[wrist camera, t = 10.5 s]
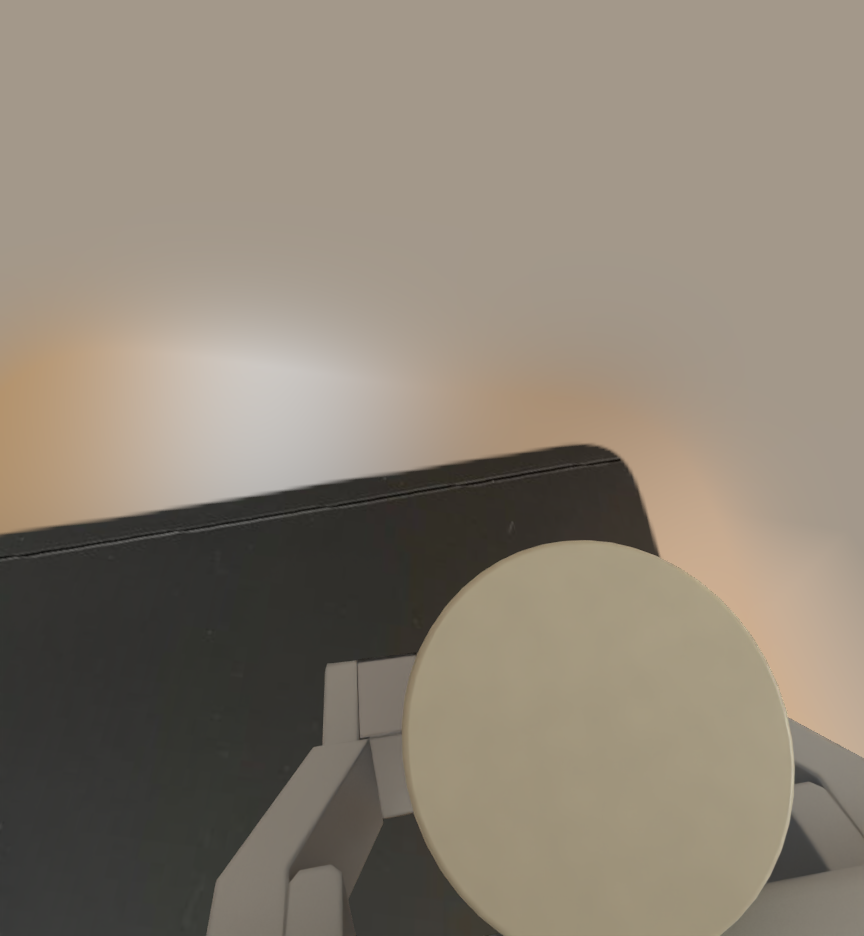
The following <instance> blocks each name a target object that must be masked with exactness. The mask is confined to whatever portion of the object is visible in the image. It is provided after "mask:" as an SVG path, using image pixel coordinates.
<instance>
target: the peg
mask: <svg viewBox="0 0 864 936" xmlns="http://www.w3.org/2000/svg"><path fill="white" fill-rule="evenodd" d="M402 755H403V764H404V771H405V778H406V785H407V790H408V793H409V797H410V801H411V804H412V808H413V812H414V816H415V818H416V820H417V823H418V825H419V828H420V830H421V833H422V835H423V838H424V840H425V843H426V845H427V847H428V848H429V850H430V852H431V854H432V856H433V857H434V859H435V861H436V863H437V865H438V866H439V868H440V870H441V871H442V873H443V874H444V875H445V877H446V878H447V880H448V881H449V882H450V884H451V885H452V886H453V888H454V889H455V890H456V892H457V893H458V895H459V896H460V897H461V898H462V899H463V900H464V901H465V902H466V903H467V904H468V905H469V906H470V907H471V908H472V909H473V910H474V911H475V912H476V913H477V915H478V916H479V917H481V918H482V919H483V920H484V921H486V922H487V923H488V924H489V925H491V926H492V927H493V928H494V929H496V930H497V931H498V932H499V933H501V934H502V935H503V936H720V935H721V934H723V933H724V932H725V931H726V930H727V929H728V928H729V927H731V926H732V925H733V924H734V923H735V922H736V921H737V920H739V918H740V917H741V916H742V915H743V914H744V912H745V911H746V910H747V909H748V908H749V907H750V905H751V904H752V903H753V902H754V901H755V899H756V898H757V896H758V895H759V893H760V892H761V890H762V888H763V887H764V885H765V884H766V882H767V880H768V879H769V877H770V875H771V873H772V871H773V869H774V867H775V864H776V862H777V860H778V857H779V855H780V853H781V851H782V848H783V844H784V841H785V837H786V834H787V830H788V827H789V823H790V817H791V811H792V804H793V798H794V776H795V764H794V753H793V742H792V735H791V730H790V726H789V721H788V716H787V711H786V708H785V705H784V702H783V699H782V696H781V693H780V690H779V687H778V685H777V682H776V680H775V678H774V676H773V674H772V671H771V669H770V667H769V665H768V663H767V660H766V659H765V657H764V656H763V654H762V652H761V650H760V649H759V647H758V645H757V644H756V642H755V640H754V639H753V637H752V636H751V634H750V633H749V632H748V630H747V629H746V628H745V626H744V625H743V624H742V622H741V621H740V620H739V618H738V617H737V616H736V615H735V614H734V613H733V612H732V611H731V610H730V609H729V608H728V607H727V605H726V604H725V603H723V601H722V600H721V599H720V598H719V597H718V596H716V595H715V594H714V593H713V592H712V591H710V590H709V589H708V588H707V587H706V586H704V585H703V584H702V583H701V582H700V581H698V580H697V579H695V578H694V577H692V576H691V575H689V574H688V573H686V572H685V571H683V570H682V569H680V568H679V567H677V566H675V565H673V564H671V563H669V562H667V561H665V560H663V559H661V558H659V557H657V556H655V555H652V554H650V553H647V552H644V551H641V550H639V549H636V548H633V547H628V546H624V545H620V544H615V543H611V542H601V541H591V540H578V541H561V542H555V543H549V544H543V545H539V546H536V547H533V548H530V549H526V550H523V551H520V552H518V553H516V554H513V555H511V556H509V557H507V558H505V559H503V560H500V561H499V562H497V563H495V564H494V565H492V566H491V567H489V568H488V569H486V570H484V571H483V572H481V573H480V574H479V575H477V576H476V577H475V578H474V579H473V580H471V581H470V582H469V583H468V584H467V585H466V586H464V587H463V588H462V589H461V590H460V591H459V592H458V593H457V594H456V596H455V597H454V598H453V599H452V600H451V601H450V602H449V603H448V604H447V606H446V607H445V608H444V609H443V611H442V612H441V614H440V615H439V617H438V618H437V620H436V621H435V623H434V624H433V626H432V627H431V629H430V630H429V632H428V634H427V636H426V638H425V640H424V642H423V643H422V645H421V647H420V649H419V651H418V653H417V656H416V659H415V661H414V664H413V667H412V670H411V673H410V675H409V680H408V684H407V689H406V693H405V698H404V707H403V718H402Z"/></svg>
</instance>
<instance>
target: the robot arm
mask: <svg viewBox="0 0 864 936" xmlns="http://www.w3.org/2000/svg"><path fill="white" fill-rule="evenodd" d="M416 656H417V654H416V653H408V654H400V655H391V656H383V657H375V658H367V659H358V661H348V662H339V663H330V664H327V667H326V670H325V689H324V718H323V746H318V747H313V748H312V750H311V751H310V752H309V754H308V755H307V757H306V758H305V759H304V761H303V762H302V763H301V765H300V766H299V768H298V769H297V770H296V772H295V773H294V774H293V776H292V777H291V779H290V780H289V781H288V783H287V784H286V786H285V787H284V788H283V790H282V791H281V792H280V794H279V795H278V797H277V798H276V799H275V801H274V802H273V803H272V805H271V806H270V808H269V809H268V810H267V812H266V813H265V814H264V816H263V817H262V819H261V820H260V821H259V823H258V824H257V825H256V827H255V828H254V830H253V831H252V832H251V834H250V835H249V836H248V838H247V839H246V841H245V842H244V843H243V845H242V846H241V847H240V849H239V850H238V852H237V853H236V854H235V856H234V857H233V858H232V860H231V861H230V863H229V864H228V865H227V867H226V868H225V869H224V871H223V872H222V874H221V875H220V876H219V878H218V879H217V880H216V884H215V890H214V895H213V901H212V907H211V912H210V918H209V923H208V929H207V934H206V936H356V934H355V929H354V925H353V920H352V916H351V911H350V907H349V902H348V898H349V896H350V894H351V892H352V890H353V888H354V885H355V883H356V881H357V879H358V877H359V875H360V872H361V870H362V868H363V866H364V864H365V862H366V859H367V857H368V855H369V853H370V851H371V848H372V846H373V844H374V842H375V840H376V838H377V835H378V833H379V831H380V829H381V827H382V825H383V819H388V818H393V817H398V816H403V815H408V814H413V813H414V812H413V808H412V804H411V801H410V797H409V793H408V790H407V785H406V778H405V771H404V764H403V755H402V718H403V707H404V698H405V693H406V689H407V684H408V680H409V675H410V673H411V670H412V667H413V664H414V661H415V659H416ZM788 721H789V726H790V730H791V735H792V742H793V753H794V764H795V776H794V798H793V804H792V811H791V817H790V823H789V827H788V830H787V834H786V837H785V841H784V844H783V848H782V851H781V853H780V855H779V857H778V860H777V862H776V864H775V867H774V869H773V871H772V873H771V875H770V877H769V879H768V880H767V882H766V884H765V885H764V887H763V888H762V890H761V892H760V893H759V895H758V896H757V898H756V899H755V901H754V902H753V903H752V904H751V905H750V907H749V908H748V909H747V910H746V911H745V912H744V914H743V915H742V916H741V917H740V918H739V920H737V921H736V922H735V923H734V924H733V925H732V926H731V927H729V928H728V929H727V930H726V931H725V932H724V933H723V934H721V935H720V936H864V758H862V757H860V756H859V755H857V754H855V753H853V752H851V751H849V750H847V749H845V748H843V747H841V746H840V745H838V744H836V743H834V742H832V741H831V740H829V739H827V738H825V737H823V736H821V735H820V734H818V733H816V732H814V731H812V730H810V729H809V728H807V727H805V726H803V725H801V724H799V723H797V722H795V721H794V720H792V719H790V718H788ZM487 936H503V935H502V934H501V933H498V934H493V935H487Z"/></svg>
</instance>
